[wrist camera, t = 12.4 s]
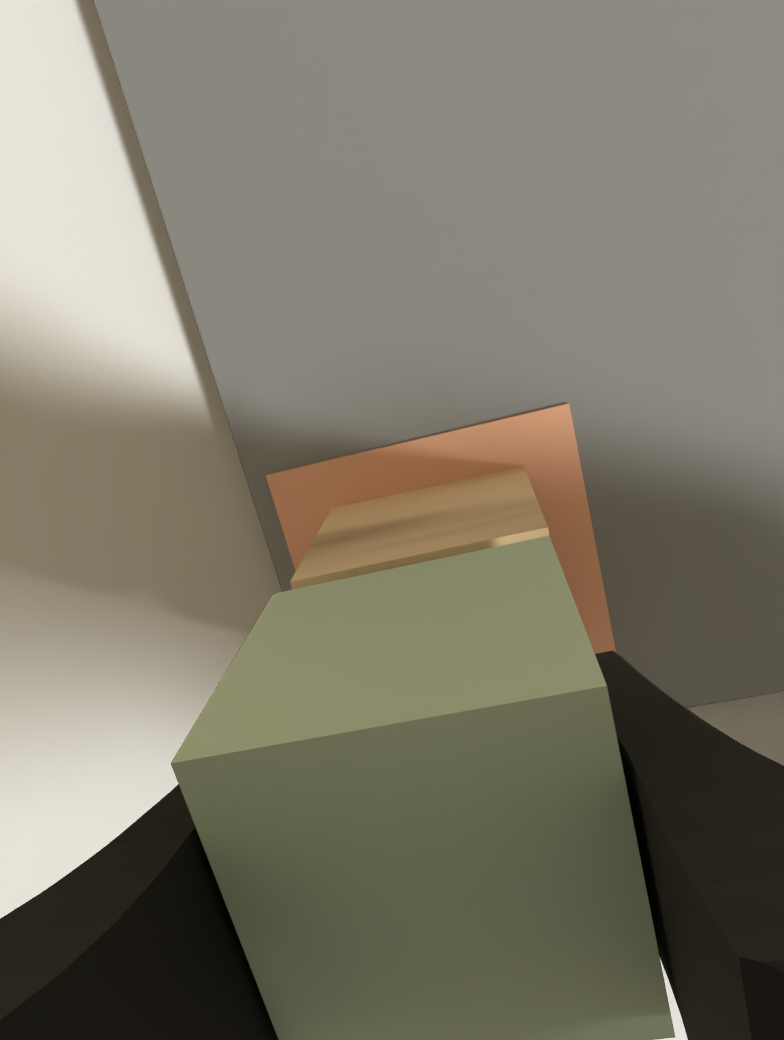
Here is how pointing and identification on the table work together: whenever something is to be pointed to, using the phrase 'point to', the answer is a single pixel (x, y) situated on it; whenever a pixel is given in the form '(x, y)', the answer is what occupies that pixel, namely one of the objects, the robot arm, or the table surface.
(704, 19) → the mat
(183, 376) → the table surface
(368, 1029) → the sage block
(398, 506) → the maple block
